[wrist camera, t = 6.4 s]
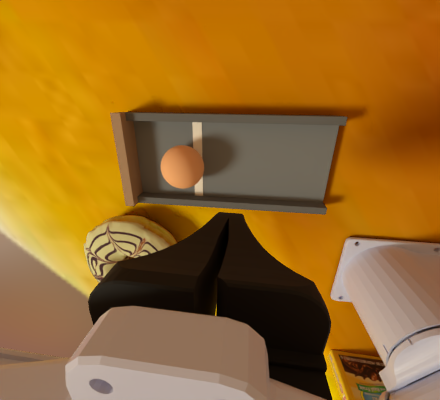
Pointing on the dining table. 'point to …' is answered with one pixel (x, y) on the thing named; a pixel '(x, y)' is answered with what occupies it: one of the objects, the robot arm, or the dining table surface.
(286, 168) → the lane
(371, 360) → the candy box
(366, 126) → the dining table surface
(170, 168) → the ball
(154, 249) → the decorated donut
